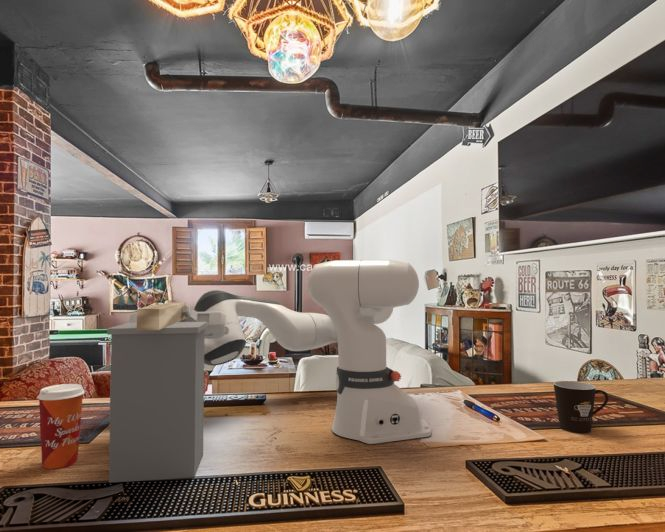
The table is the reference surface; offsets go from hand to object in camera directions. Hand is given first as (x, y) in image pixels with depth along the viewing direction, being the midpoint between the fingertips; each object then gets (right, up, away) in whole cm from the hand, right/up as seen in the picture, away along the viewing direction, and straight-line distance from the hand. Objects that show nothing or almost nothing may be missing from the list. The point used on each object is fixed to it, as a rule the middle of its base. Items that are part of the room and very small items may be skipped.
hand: (173, 309), depth 91 cm
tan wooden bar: (+1, -2, -7) cm, 8 cm away
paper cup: (-18, -28, -8) cm, 35 cm away
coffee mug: (+90, -29, +10) cm, 95 cm away
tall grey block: (+1, -28, -11) cm, 30 cm away
